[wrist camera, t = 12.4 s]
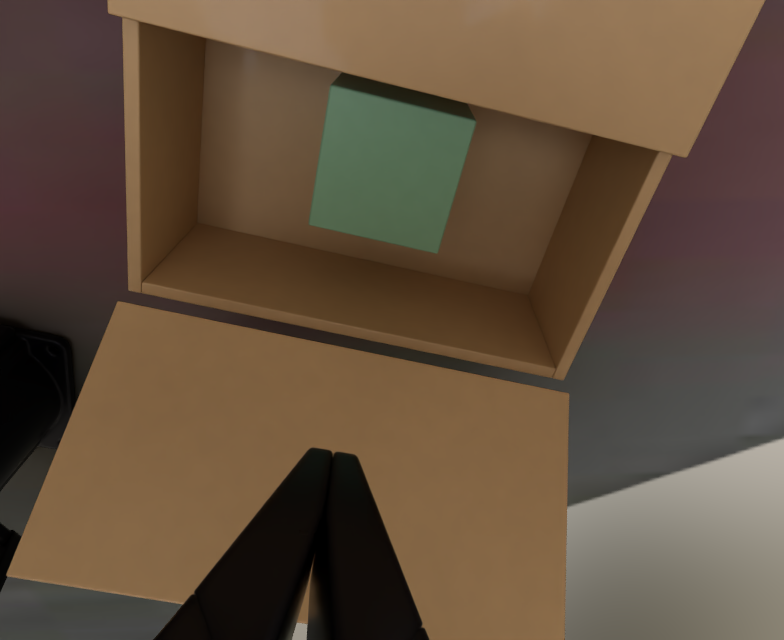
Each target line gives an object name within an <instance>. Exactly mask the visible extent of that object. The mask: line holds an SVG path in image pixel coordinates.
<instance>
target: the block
mask: <svg viewBox="0 0 784 640" xmlns="http://www.w3.org/2000/svg"><path fill="white" fill-rule="evenodd" d="M475 126H476V119H475V117H474V115H473V113H472V111H471V110H470V108H469V106H468V104H467V103H463V102H459V101H455V100H451V99H447V98H443V97H439V96H435V95H431V94H427V93H423V92H419V91H415V90H411V89H407V88H403V87H399V86H395V85H391V84H387V83H383V82H379V81H375V80H371V79H367V78H363V77H359V76H355V75H351V74H347V73H343V72H342V73H341V74H340V75H339V76H338V77H337V78H336V80H335V81H334V82H333V83H332V84H331V85H330V88H329V95H328V101H327V107H326V114H325V120H324V126H323V133H322V139H321V145H320V152H319V158H318V164H317V171H316V177H315V183H314V190H313V196H312V202H311V209H310V215H309V221H308V224H309V225H311V226H315V227H320V228H324V229H328V230H333V231H337V232H342V233H346V234H351V235H355V236H360V237H364V238H369V239H373V240H377V241H382V242H386V243H391V244H395V245H400V246H404V247H409V248H413V249H418V250H422V251H426V252H431V253H435V254H437V253H438V252H439V248H440V245H441V242H442V238H443V235H444V231H445V228H446V225H447V221H448V218H449V214H450V211H451V208H452V204H453V201H454V197H455V194H456V191H457V187H458V184H459V181H460V177H461V174H462V170H463V167H464V164H465V160H466V157H467V153H468V150H469V147H470V143H471V140H472V136H473V133H474V130H475Z"/></svg>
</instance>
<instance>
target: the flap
mask: <svg viewBox="0 0 784 640" xmlns="http://www.w3.org/2000/svg"><path fill="white" fill-rule="evenodd" d="M568 425H569V394H568V393H565V392H560V391H555V390H550V389H545V388H540V387H535V386H530V385H525V384H521V383H516V382H511V381H506V380H501V379H496V378H491V377H486V376H482V375H477V374H472V373H467V372H462V371H457V370H452V369H447V368H443V367H438V366H433V365H428V364H423V363H418V362H413V361H408V360H403V359H399V358H394V357H389V356H384V355H379V354H374V353H369V352H364V351H360V350H355V349H350V348H345V347H340V346H335V345H330V344H325V343H321V342H316V341H311V340H306V339H301V338H296V337H291V336H286V335H281V334H277V333H272V332H267V331H262V330H257V329H252V328H247V327H242V326H238V325H233V324H228V323H223V322H218V321H213V320H208V319H203V318H199V317H194V316H189V315H184V314H179V313H174V312H169V311H164V310H159V309H155V308H150V307H145V306H140V305H135V304H130V303H125V302H120V301H118V302H117V304H116V307H115V309H114V312H113V314H112V316H111V319H110V321H109V324H108V326H107V329H106V331H105V334H104V336H103V339H102V341H101V343H100V346H99V348H98V351H97V353H96V356H95V358H94V361H93V363H92V365H91V368H90V370H89V373H88V375H87V378H86V380H85V383H84V385H83V388H82V390H81V392H80V395H79V397H78V400H77V402H76V405H75V407H74V410H73V412H72V415H71V417H70V419H69V422H68V424H67V427H66V429H65V432H64V434H63V437H62V439H61V441H60V444H59V446H58V449H57V451H56V454H55V456H54V459H53V461H52V464H51V466H50V468H49V471H48V473H47V476H46V478H45V481H44V483H43V486H42V488H41V491H40V493H39V495H38V498H37V500H36V503H35V505H34V508H33V510H32V513H31V515H30V517H29V520H28V522H27V525H26V527H25V530H24V532H23V535H22V537H21V540H20V542H19V544H18V547H17V549H16V552H15V554H14V557H13V559H12V562H11V564H10V567H9V569H8V571H7V574H6V576H8V577H14V578H21V579H27V580H33V581H39V582H46V583H52V584H58V585H65V586H71V587H77V588H83V589H90V590H96V591H102V592H109V593H115V594H121V595H127V596H134V597H140V598H146V599H153V600H159V601H165V602H172V603H178V604H184V603H185V601H186V600H187V599H188V598H189V596H190V595H192V594H194V591H195V589H196V588H197V587H198V586H199V584H200V583H201V582H202V581H203V579H204V578H205V577H206V576H207V574H208V573H209V572H210V571H211V569H212V568H213V567H214V566H215V564H216V563H217V562H218V561H219V559H220V558H221V557H222V556H223V555H224V553H225V552H226V551H227V550H228V548H229V547H230V546H231V545H232V543H233V542H234V541H235V540H236V538H237V537H238V536H239V535H240V533H241V532H242V531H243V530H244V528H245V527H246V526H247V525H248V523H249V522H250V521H251V520H252V519H253V517H254V516H255V515H256V514H257V512H258V511H259V510H260V509H261V507H262V506H263V505H264V504H265V502H266V501H267V500H268V499H269V497H270V496H271V495H272V494H273V492H274V491H275V490H276V489H277V487H278V486H279V485H280V484H281V483H282V481H283V480H284V479H285V478H286V476H287V475H288V474H289V473H290V471H291V470H292V469H293V468H294V466H295V465H296V464H297V463H298V461H299V460H300V459H301V458H302V456H303V455H304V454H305V453H306V451H307V450H308V449H310V448H312V447H315V448H321V449H327V450H331V451H332V453H333V454H334V453H335V452H344V453H350V454H355V455H356V456H357V457H358V459H359V461H360V463H361V466H362V469H363V471H364V474H365V476H366V479H367V481H368V484H369V487H370V489H371V492H372V494H373V497H374V499H375V502H376V504H377V507H378V510H379V512H380V515H381V517H382V520H383V522H384V525H385V528H386V530H387V533H388V535H389V538H390V540H391V543H392V546H393V548H394V551H395V553H396V556H397V558H398V561H399V563H400V566H401V569H402V571H403V574H404V576H405V579H406V581H407V584H408V587H409V589H410V592H411V594H412V597H413V599H414V602H415V604H416V607H417V610H418V612H419V615H420V617H421V620H422V622H423V625H422V627H423V628H425V630H426V632H427V635H428V637H429V640H565V591H566V590H565V588H566V536H567V481H568ZM312 565H313V564H312ZM311 572H312V569H311ZM310 579H311V573H310V578H309V582H308V586H307V589H306V593H305V597H304V600H303V603H302V607H301V610H300V613H299V617H298V620H297V623H304V624H308V608H309V591H310Z"/></svg>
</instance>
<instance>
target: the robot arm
mask: <svg viewBox="0 0 784 640" xmlns="http://www.w3.org/2000/svg"><path fill="white" fill-rule="evenodd" d="M54 346H55V347H57V348H58V349H59V350H57V349H56V348H54ZM75 405H76V403H75V392H74V380H73V369H72V358H71V348H70V344H69V343H68V342H67V341H66V340H65V339H64V338H62V337H59V336H55V335H50V334H45V333H40V332H35V331H30V330H25V329H19V328H14V327H9V326H4V325H0V491H1V490H2V489H3V487H4V486H5V485H6V484H7V483H8V481H9V480H10V479H11V478H12V477H13V475H14V474H15V473H16V472H17V471H18V469H19V468H20V467H21V466H22V465H23V463H24V462H25V461H26V460H27V458H28V457H29V456H30V455H31V454H32V452H33V451H34V450H35V449H36V448H37V446H40V447H46V448H51V449H58V446H59V444H60V441H61V439H62V437H63V434H64V432H65V429H66V427H67V424H68V422H69V419H70V417H71V415H72V412H73V410H74V407H75ZM20 540H21V536H20V535H19V534H18V533H16V532H15V531H14V530H9V529H7V528H6V527H5V526H4V525H2V524H1V523H0V592H1V589H2V587H3V585H4V583H5V580H6V578H7V576H6V574H7V571H8V569H9V567H10V564H11V562H12V559H13V557H14V554H15V552H16V549H17V547H18V544H19V542H20ZM312 564H313V565H312ZM311 569H312V572H311ZM310 573H311V579H310V591H309V608H308V627H307V640H429V637H428V635H427V632H426V630H425V628H423V627H422V625H423V622H422V620H421V617H420V615H419V612H418V610H417V607H416V604H415V602H414V599H413V597H412V594H411V592H410V589H409V587H408V584H407V581H406V579H405V576H404V574H403V571H402V569H401V566H400V563H399V561H398V558H397V556H396V553H395V551H394V548H393V546H392V543H391V540H390V538H389V535H388V533H387V530H386V528H385V525H384V522H383V520H382V517H381V515H380V512H379V510H378V507H377V504H376V502H375V499H374V497H373V494H372V492H371V489H370V487H369V484H368V481H367V479H366V476H365V474H364V471H363V469H362V466H361V463H360V461H359V459H358V457H357V456H356V455H355V454H350V453H344V452H335V453H334V454H333V453H332V451H331V450H327V449H321V448H315V447H312V448H310V449H308V450H307V451H306V453H305V454H304V455H303V456H302V458H301V459H300V460H299V461H298V463H297V464H296V465H295V466H294V468H293V469H292V470H291V471H290V473H289V474H288V475H287V476H286V478H285V479H284V480H283V481H282V483H281V484H280V485H279V486H278V487H277V489H276V490H275V491H274V492H273V494H272V495H271V496H270V497H269V499H268V500H267V501H266V502H265V504H264V505H263V506H262V507H261V509H260V510H259V511H258V512H257V514H256V515H255V516H254V517H253V519H252V520H251V521H250V522H249V523H248V525H247V526H246V527H245V528H244V530H243V531H242V532H241V533H240V535H239V536H238V537H237V538H236V540H235V541H234V542H233V543H232V545H231V546H230V547H229V548H228V550H227V551H226V552H225V553H224V555H223V556H222V557H221V558H220V559H219V561H218V562H217V563H216V564H215V566H214V567H213V568H212V569H211V571H210V572H209V573H208V574H207V576H206V577H205V578H204V579H203V581H202V582H201V583H200V584H199V586H198V587H197V588H196V589H195V591H194V594H192V595H190V596H189V598H188V599H187V600H186V601H185V603H184V604H183V605H182V606H181V608H180V609H179V610H178V611H177V612H176V614H175V615H174V616H173V617H172V618H171V620H170V621H169V622H168V623H167V624H166V625H165V627H164V628H163V629H162V630H161V631H160V632H159V634H158V635H157V636H156V637H155V638H154V639H153V640H292V636H293V633H294V630H295V626H296V623H297V620H298V617H299V613H300V610H301V607H302V603H303V600H304V597H305V593H306V589H307V586H308V582H309V578H310Z"/></svg>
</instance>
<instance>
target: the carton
mask: <svg viewBox="0 0 784 640" xmlns="http://www.w3.org/2000/svg"><path fill="white" fill-rule="evenodd" d="M764 2H765V0H108V13H109V14H111V15H115V16H119V17H122V28H123V73H124V117H125V162H126V207H127V252H128V290H129V291H134V292H138V293H141V292H142V293H143V294H148V295H153V296H158V297H163V298H167V299H172V300H177V301H182V302H187V303H192V304H196V305H201V306H206V307H211V308H216V309H221V310H225V311H230V312H235V313H240V314H245V315H250V316H254V317H259V318H264V319H269V320H274V321H279V322H283V323H288V324H293V325H298V326H303V327H308V328H312V329H317V330H322V331H327V332H332V333H337V334H341V335H346V336H351V337H356V338H361V339H366V340H370V341H375V342H380V343H385V344H390V345H395V346H399V347H404V348H409V349H414V350H419V351H424V352H428V353H433V354H438V355H443V356H448V357H453V358H457V359H462V360H467V361H472V362H477V363H482V364H486V365H491V366H496V367H501V368H506V369H511V370H515V371H520V372H525V373H530V374H535V375H540V376H544V377H549V378H554V379H559V380H564V378H565V376H566V374H567V372H568V370H569V368H570V366H571V364H572V362H573V360H574V358H575V355H576V353H577V351H578V349H579V347H580V345H581V343H582V341H583V339H584V337H585V335H586V333H587V331H588V329H589V327H590V324H591V322H592V320H593V318H594V316H595V314H596V312H597V310H598V308H599V306H600V304H601V302H602V300H603V298H604V296H605V294H606V291H607V289H608V287H609V285H610V283H611V281H612V279H613V277H614V275H615V273H616V271H617V269H618V267H619V265H620V263H621V260H622V258H623V256H624V254H625V252H626V250H627V248H628V246H629V244H630V242H631V240H632V238H633V236H634V234H635V232H636V230H637V227H638V225H639V223H640V221H641V219H642V217H643V215H644V213H645V211H646V209H647V207H648V205H649V203H650V201H651V199H652V197H653V194H654V192H655V190H656V188H657V186H658V184H659V182H660V180H661V178H662V176H663V174H664V172H665V170H666V168H667V166H668V163H669V161H670V159H671V157H672V155H676V156H680V157H684V158H686V157H687V156H688V154H689V152H690V150H691V148H692V146H693V144H694V142H695V140H696V138H697V136H698V134H699V132H700V130H701V128H702V126H703V124H704V122H705V120H706V118H707V116H708V114H709V112H710V110H711V108H712V106H713V104H714V102H715V100H716V98H717V96H718V94H719V92H720V90H721V88H722V86H723V84H724V82H725V80H726V78H727V76H728V74H729V72H730V70H731V68H732V66H733V64H734V62H735V60H736V58H737V56H738V54H739V52H740V50H741V48H742V46H743V44H744V42H745V40H746V38H747V36H748V34H749V32H750V30H751V28H752V26H753V24H754V22H755V20H756V18H757V16H758V14H759V12H760V10H761V8H762V6H763V4H764ZM342 72H343V73H347V74H351V75H355V76H359V77H363V78H367V79H371V80H375V81H379V82H383V83H387V84H391V85H395V86H399V87H403V88H407V89H411V90H415V91H419V92H423V93H427V94H431V95H435V96H439V97H443V98H447V99H451V100H455V101H459V102H463V103H467V104H468V106H469V108H470V110H471V111H472V113H473V115H474V117H475V119H476V126H475V130H474V133H473V136H472V140H471V143H470V147H469V150H468V153H467V157H466V160H465V164H464V167H463V170H462V174H461V177H460V181H459V184H458V187H457V191H456V194H455V197H454V201H453V204H452V208H451V211H450V214H449V218H448V221H447V225H446V228H445V231H444V235H443V238H442V242H441V245H440V248H439V252H438V253H437V254H435V253H431V252H426V251H422V250H418V249H413V248H409V247H404V246H400V245H395V244H391V243H386V242H382V241H377V240H373V239H369V238H364V237H360V236H355V235H351V234H346V233H342V232H337V231H333V230H328V229H324V228H320V227H315V226H311V225H309V224H308V221H309V215H310V209H311V202H312V196H313V190H314V183H315V177H316V171H317V164H318V158H319V152H320V145H321V139H322V133H323V126H324V120H325V114H326V107H327V101H328V95H329V88H330V85H331V84H332V83H333V82H334V81H335V80H336V78H337V77H338V76H339V75H340V74H341V73H342Z"/></svg>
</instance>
